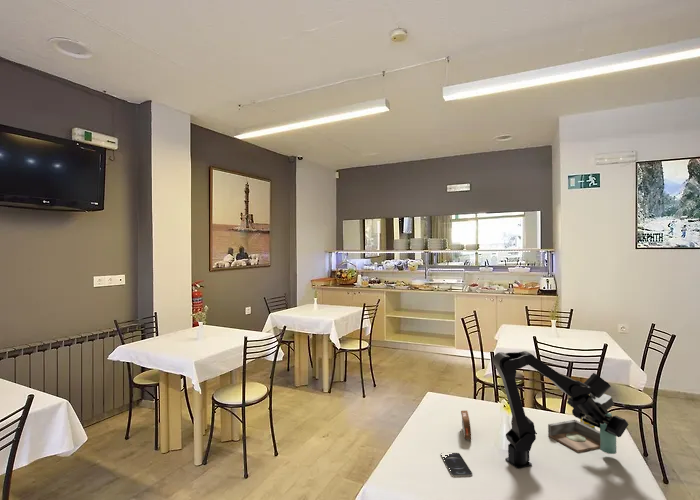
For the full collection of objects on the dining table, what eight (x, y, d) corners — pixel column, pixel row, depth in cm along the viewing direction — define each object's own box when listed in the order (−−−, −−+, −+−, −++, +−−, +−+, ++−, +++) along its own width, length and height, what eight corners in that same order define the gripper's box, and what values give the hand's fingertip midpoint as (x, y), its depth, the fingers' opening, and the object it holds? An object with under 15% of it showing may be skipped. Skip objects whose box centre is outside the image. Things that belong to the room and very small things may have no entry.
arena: (577, 452, 146) (577, 439, 146) (548, 436, 160) (548, 424, 160) (605, 446, 151) (605, 434, 151) (575, 431, 164) (574, 419, 164)
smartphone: (459, 452, 147) (473, 474, 132) (459, 454, 147) (473, 477, 132) (439, 453, 146) (451, 475, 131) (439, 455, 146) (451, 477, 131)
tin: (471, 443, 154) (471, 422, 154) (463, 442, 155) (463, 421, 155) (468, 426, 169) (467, 407, 169) (460, 426, 170) (460, 406, 170)
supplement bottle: (577, 425, 169) (577, 403, 169) (586, 424, 171) (586, 402, 171) (588, 431, 164) (588, 408, 164) (598, 429, 165) (597, 406, 166)
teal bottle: (609, 454, 140) (608, 417, 140) (596, 448, 145) (596, 411, 145) (619, 452, 141) (619, 415, 142) (607, 446, 146) (606, 410, 146)
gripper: (624, 396, 133) (647, 424, 136) (577, 380, 151) (599, 405, 154) (606, 422, 131) (631, 450, 134) (561, 402, 149) (584, 427, 152)
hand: (610, 431), depth 144 cm, fingers closed on teal bottle, 5 cm apart
